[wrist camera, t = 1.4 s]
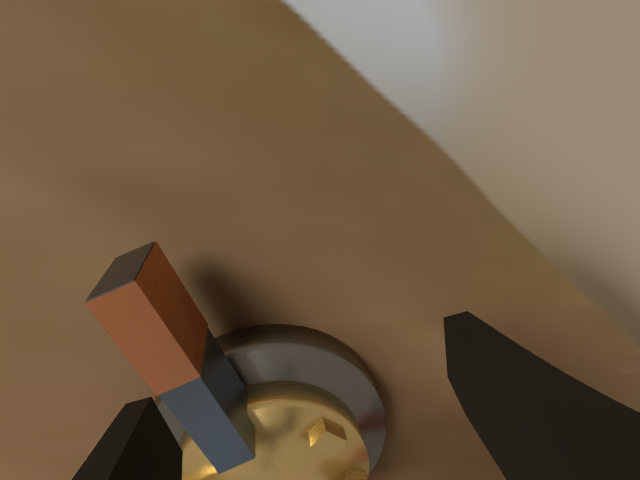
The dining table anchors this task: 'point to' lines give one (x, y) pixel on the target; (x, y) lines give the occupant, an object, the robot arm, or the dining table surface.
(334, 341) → the rounded grey metal base
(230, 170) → the dining table surface
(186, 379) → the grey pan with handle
